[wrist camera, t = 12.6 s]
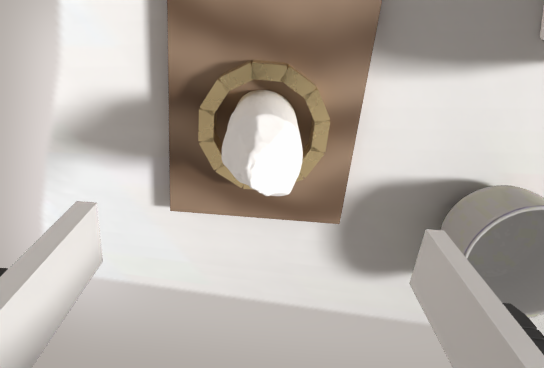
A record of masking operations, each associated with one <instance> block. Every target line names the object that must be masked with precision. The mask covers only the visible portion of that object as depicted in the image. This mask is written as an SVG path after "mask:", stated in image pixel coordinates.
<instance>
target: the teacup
mask: <svg viewBox="0 0 544 368" xmlns="http://www.w3.org/2000/svg"><path fill="white" fill-rule="evenodd" d="M441 230H444V231H445V232H446V234H447V235H448V236H449V237H450V239H451V240H452V241H453V242H454V244H455V245H456V246H457V247H458V249H459V250H460V251H461V252H462V254H463V255H464V256H465V257H466V259H467V260H468V261H469V262H470V264H471V265H472V266H473V267H474V269H475V270H476V271H477V272H478V274H479V275H480V276H481V277H482V279H483V280H484V281H485V282H486V284H487V285H488V286H489V287H490V289H491V290H492V291H493V292H494V294H495V295H496V296H497V297H498V299H499V300H500V301H501V302H502V303H511V304H512V305H513V306H515V307H516V308H517V309H519V310H520V311H521V312H523V313H524V314H525V315H526V316H527V317H528V318H532V317H536V316H538V315H542V314H544V198H543V197H542V196H540V195H538V194H536V193H533V192H531V191H529V190H526V189H523V188H519V187H515V186H507V185H499V186H491V187H486V188H482V189H480V190H477V191H474V192H472V193H470V194H469V195H467V196H465V197H464V198H462V199H461V200H460V201H459V202H458V203H456V204H455V205H454V206H453V208H452V209H451V210H450V211H449V213H448V214H447V216H446V217H445V219H444V221H443V223H442V226H441Z"/></svg>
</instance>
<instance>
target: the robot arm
mask: <svg viewBox="0 0 544 368" xmlns="http://www.w3.org/2000/svg"><path fill="white" fill-rule="evenodd" d="M102 262H103V258H102V249H101V239H100V229H99V220H98V210H97V203H93V202H81V201H76V202H75V203H74V204H73V205H72V206H71V207H70V208H69V209H68V210H67V211H66V212H65V213H64V214H63V215H62V216H61V217H60V218H59V219H58V220H57V221H56V222H55V223H54V224H53V225H52V226H51V227H50V228H49V229H48V230H47V231H46V232H45V233H44V234H43V235H42V236H41V237H40V238H39V239H38V240H37V241H36V242H35V243H34V244H33V245H32V246H31V247H30V248H29V249H28V250H27V251H26V252H25V253H24V254H23V255H22V256H21V257H20V258H19V259H18V260H17V261H16V262H15V263H14V264H13V265H12V266H11V267H10V268H9V269H7V268H0V368H32V367H33V365H34V364H35V362H36V361H37V359H38V358H39V356H40V355H41V353H42V352H43V350H44V349H45V347H46V346H47V344H48V343H49V341H50V339H51V338H52V337H53V335H54V334H55V332H56V331H57V329H58V328H59V326H60V325H61V323H62V322H63V320H64V319H65V317H66V316H67V314H68V313H69V311H70V310H71V308H72V307H73V305H74V304H75V302H76V301H77V299H78V297H79V296H80V295H81V293H82V292H83V290H84V289H85V287H86V286H87V284H88V283H89V281H90V280H91V278H92V277H93V275H94V274H95V272H96V271H97V269H98V268H99V266H100V265H101V263H102ZM409 284H410V286H411V288H412V290H413V292H414V294H415V296H416V297H417V299H418V301H419V303H420V305H421V307H422V309H423V311H424V313H425V315H426V317H427V319H428V321H429V323H430V325H431V327H432V328H433V330H434V332H435V334H436V336H437V338H438V340H439V342H440V344H441V346H442V347H443V350H444V352H445V354H446V356H447V357H448V359H449V361H450V363H451V365H452V367H453V368H544V336H543V335H542V333H541V332H540V331H539V330H537V329H536V328H537V327H536V326H535V325H534V324H533V323H532V322H531V320H530V319H529V318H528V317H527V316H526V315H525V314H524V313H523V312H521V311H520V310H519V309H517V308H516V307H515V306H513V305H512V304H511V303H502V302H501V301H500V300H499V299H498V297H497V296H496V295H495V294H494V292H493V291H492V290H491V289H490V287H489V286H488V285H487V284H486V282H485V281H484V280H483V279H482V277H481V276H480V275H479V274H478V272H477V271H476V270H475V269H474V267H473V266H472V265H471V264H470V262H469V261H468V260H467V259H466V257H465V256H464V255H463V254H462V252H461V251H460V250H459V249H458V247H457V246H456V245H455V244H454V242H453V241H452V240H451V239H450V237H449V236H448V235H447V234H446V232H445V231H444V230H431V229H426V230H425V233H424V236H423V240H422V243H421V246H420V250H419V253H418V256H417V260H416V263H415V266H414V270H413V273H412V276H411V280H410V283H409Z"/></svg>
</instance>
